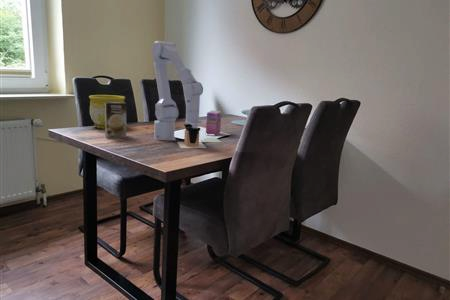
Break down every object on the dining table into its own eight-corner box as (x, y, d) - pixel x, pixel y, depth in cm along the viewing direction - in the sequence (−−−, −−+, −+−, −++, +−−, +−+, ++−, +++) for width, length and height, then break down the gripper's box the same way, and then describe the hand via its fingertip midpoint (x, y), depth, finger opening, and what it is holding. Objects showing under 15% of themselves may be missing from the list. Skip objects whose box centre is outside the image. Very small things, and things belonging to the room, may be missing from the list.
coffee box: (106, 138, 155) (105, 102, 151) (104, 135, 161) (104, 101, 157) (126, 137, 159) (126, 103, 155) (125, 135, 164) (124, 101, 161)
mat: (202, 143, 156) (202, 141, 156) (198, 139, 165) (198, 138, 165) (221, 142, 159) (221, 141, 159) (216, 139, 167) (216, 138, 167)
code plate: (180, 148, 142) (180, 147, 142) (177, 142, 154) (177, 141, 154) (206, 148, 145) (206, 147, 145) (201, 142, 157) (201, 141, 157)
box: (216, 136, 175) (217, 113, 172) (205, 135, 176) (206, 112, 173) (220, 132, 185) (221, 111, 182) (210, 132, 186) (211, 110, 183)
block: (186, 146, 146) (186, 132, 145) (184, 143, 151) (184, 130, 150) (198, 146, 148) (199, 132, 146) (196, 143, 153) (196, 130, 151)
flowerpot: (131, 128, 183) (131, 97, 179) (99, 131, 170) (98, 98, 166) (115, 123, 195) (115, 94, 191) (84, 125, 182) (83, 95, 179)
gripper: (205, 113, 140) (203, 145, 143) (198, 109, 154) (197, 138, 157) (188, 112, 138) (187, 145, 142) (183, 108, 152) (182, 138, 155)
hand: (191, 141), depth 149 cm, fingers closed on block, 5 cm apart
